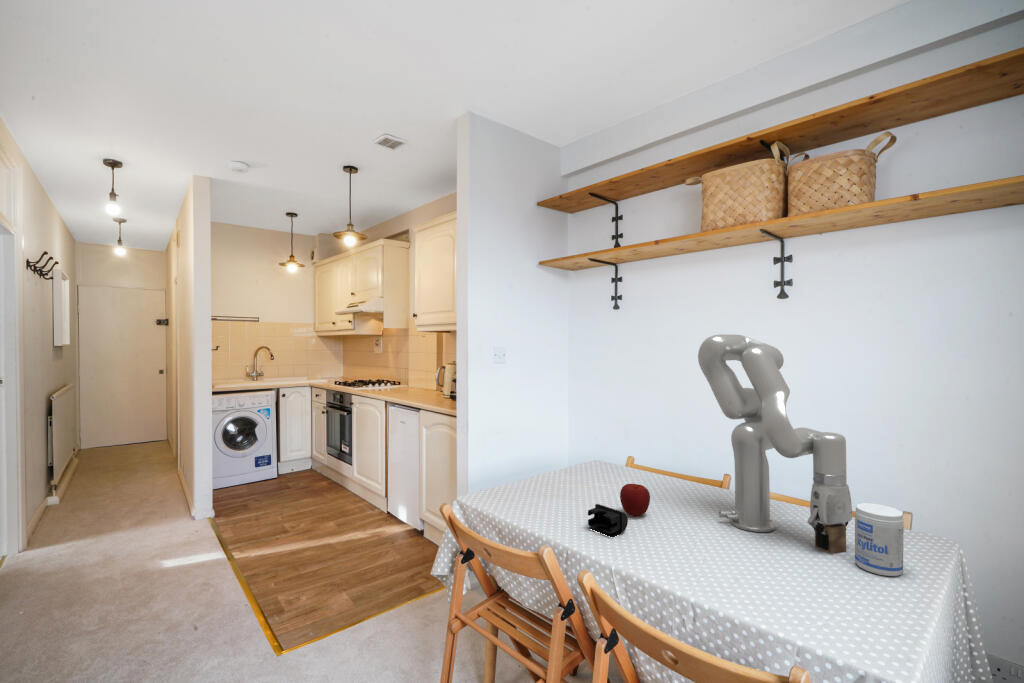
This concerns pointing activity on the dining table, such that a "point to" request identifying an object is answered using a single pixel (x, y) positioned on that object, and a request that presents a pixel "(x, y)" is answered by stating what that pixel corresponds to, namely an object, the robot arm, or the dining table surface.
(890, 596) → the dining table surface
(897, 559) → the supplement tub
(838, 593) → the dining table surface
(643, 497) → the apple
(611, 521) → the end cap
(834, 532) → the walnut block
